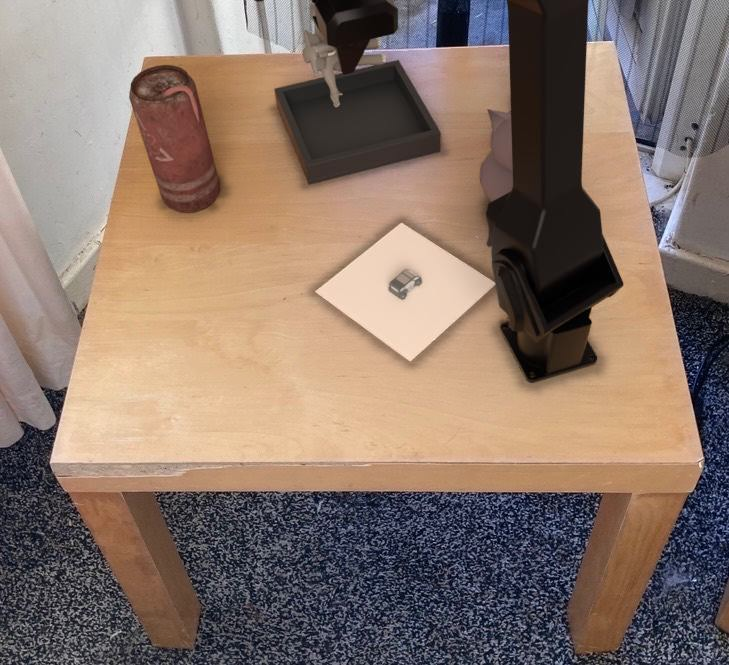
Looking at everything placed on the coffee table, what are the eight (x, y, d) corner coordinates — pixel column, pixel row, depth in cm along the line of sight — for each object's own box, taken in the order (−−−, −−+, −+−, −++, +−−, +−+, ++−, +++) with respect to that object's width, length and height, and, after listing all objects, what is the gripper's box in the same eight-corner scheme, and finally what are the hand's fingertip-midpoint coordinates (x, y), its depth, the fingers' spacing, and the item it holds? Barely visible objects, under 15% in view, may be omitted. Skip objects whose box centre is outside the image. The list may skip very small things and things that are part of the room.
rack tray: (440, 151, 91) (441, 132, 89) (308, 185, 88) (306, 166, 86) (398, 78, 99) (398, 59, 97) (277, 107, 97) (274, 88, 94)
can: (213, 218, 86) (183, 105, 75) (154, 212, 87) (116, 99, 76) (231, 178, 90) (204, 64, 79) (174, 172, 91) (140, 58, 80)
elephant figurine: (409, 91, 82) (333, 98, 77) (374, 111, 87) (300, 119, 82) (384, -11, 81) (305, -11, 76) (350, 15, 86) (274, 16, 81)
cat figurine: (480, 241, 82) (489, 145, 73) (472, 185, 87) (479, 88, 78) (569, 237, 82) (589, 139, 73) (556, 181, 87) (573, 82, 78)
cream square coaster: (496, 283, 79) (497, 272, 78) (410, 361, 74) (410, 351, 73) (401, 222, 85) (401, 211, 83) (314, 291, 80) (313, 281, 78)
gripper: (204, -142, 73) (234, 19, 86) (256, -34, 62) (281, 133, 75) (328, -166, 75) (340, -4, 88) (399, -64, 64) (401, 104, 77)
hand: (338, 53), depth 82 cm, fingers closed on elephant figurine, 6 cm apart
